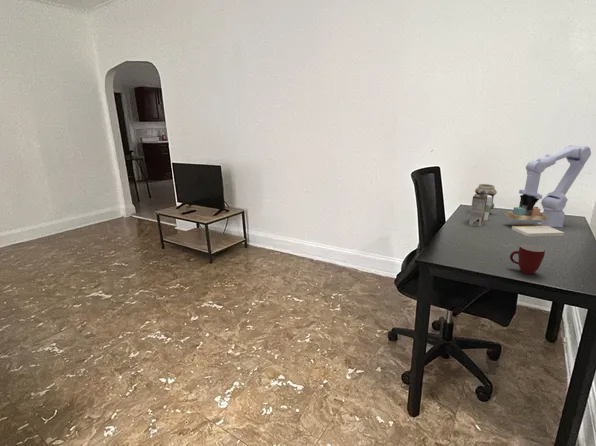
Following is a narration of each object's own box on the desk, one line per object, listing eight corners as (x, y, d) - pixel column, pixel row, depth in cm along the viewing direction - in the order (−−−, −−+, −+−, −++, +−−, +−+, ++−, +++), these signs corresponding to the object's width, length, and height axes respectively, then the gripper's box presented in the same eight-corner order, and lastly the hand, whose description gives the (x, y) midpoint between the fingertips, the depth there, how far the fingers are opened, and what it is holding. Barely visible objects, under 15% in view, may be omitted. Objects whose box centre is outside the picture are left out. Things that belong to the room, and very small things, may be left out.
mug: (507, 272, 132) (511, 247, 129) (508, 264, 138) (512, 241, 136) (540, 278, 127) (545, 253, 124) (539, 270, 133) (544, 246, 130)
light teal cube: (519, 214, 186) (521, 207, 185) (524, 216, 182) (526, 209, 181) (512, 214, 186) (514, 207, 185) (517, 216, 182) (519, 209, 181)
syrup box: (484, 218, 203) (488, 194, 199) (488, 221, 198) (492, 196, 194) (474, 218, 204) (478, 194, 200) (478, 220, 198) (482, 196, 194)
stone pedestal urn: (497, 216, 208) (502, 186, 203) (477, 216, 208) (481, 187, 203) (486, 211, 220) (490, 183, 214) (467, 211, 220) (471, 183, 214)
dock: (545, 229, 183) (546, 225, 183) (563, 236, 172) (564, 232, 171) (511, 229, 182) (512, 226, 181) (527, 237, 171) (528, 233, 170)
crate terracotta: (533, 214, 187) (535, 207, 185) (538, 216, 183) (540, 209, 182) (526, 214, 186) (528, 207, 185) (531, 216, 182) (533, 209, 181)
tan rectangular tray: (534, 215, 189) (536, 203, 188) (546, 219, 181) (549, 208, 179) (504, 215, 188) (507, 203, 186) (515, 219, 180) (518, 207, 178)
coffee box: (471, 221, 198) (475, 193, 193) (483, 222, 195) (488, 195, 190) (468, 224, 191) (472, 196, 186) (481, 226, 187) (485, 198, 183)
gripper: (515, 181, 186) (511, 206, 190) (534, 186, 172) (529, 212, 176) (528, 181, 186) (523, 205, 190) (548, 186, 173) (542, 212, 176)
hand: (527, 209), depth 183 cm, fingers closed on tan rectangular tray, 3 cm apart
